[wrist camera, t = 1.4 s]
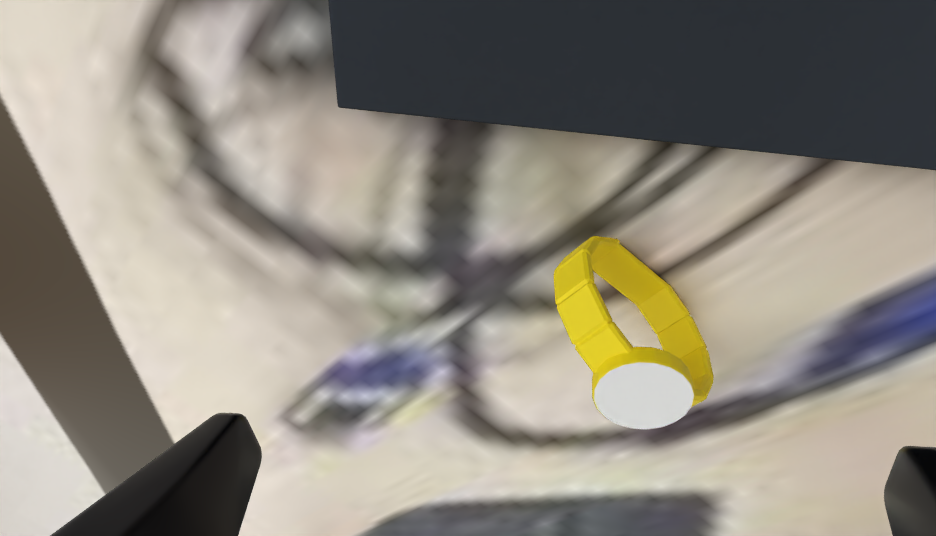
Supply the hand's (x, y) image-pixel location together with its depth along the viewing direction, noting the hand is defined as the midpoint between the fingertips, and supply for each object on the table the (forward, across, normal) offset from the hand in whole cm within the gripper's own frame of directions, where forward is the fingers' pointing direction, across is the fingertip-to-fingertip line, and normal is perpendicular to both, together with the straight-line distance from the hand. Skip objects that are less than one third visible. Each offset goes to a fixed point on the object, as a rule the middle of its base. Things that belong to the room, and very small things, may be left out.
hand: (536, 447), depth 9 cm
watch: (+13, -2, +6) cm, 15 cm away
